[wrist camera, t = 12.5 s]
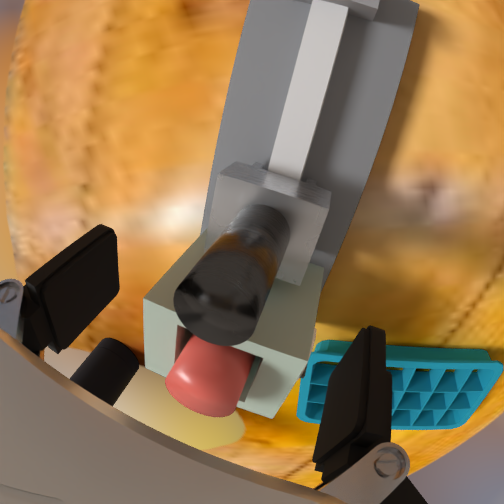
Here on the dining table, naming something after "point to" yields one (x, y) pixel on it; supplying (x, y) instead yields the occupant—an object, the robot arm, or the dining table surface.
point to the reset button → (209, 377)
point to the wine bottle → (107, 370)
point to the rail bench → (341, 112)
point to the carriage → (249, 250)
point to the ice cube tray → (411, 384)
